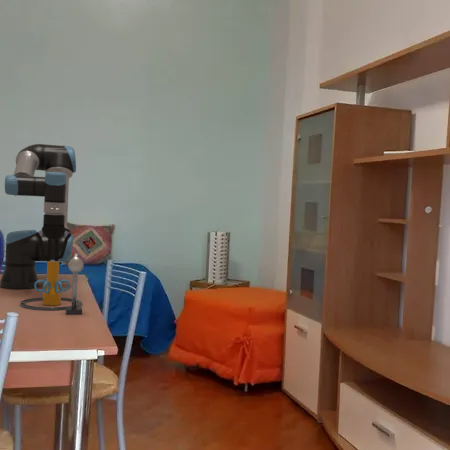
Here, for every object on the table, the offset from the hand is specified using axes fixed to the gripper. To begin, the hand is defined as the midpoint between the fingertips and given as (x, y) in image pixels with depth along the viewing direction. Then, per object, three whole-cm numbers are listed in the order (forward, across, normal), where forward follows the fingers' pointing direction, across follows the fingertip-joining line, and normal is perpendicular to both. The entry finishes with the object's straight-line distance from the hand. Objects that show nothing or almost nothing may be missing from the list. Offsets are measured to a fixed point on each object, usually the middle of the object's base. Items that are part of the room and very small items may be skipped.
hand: (51, 277), depth 211 cm
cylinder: (+8, 0, -13) cm, 15 cm away
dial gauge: (+7, +7, -27) cm, 29 cm away
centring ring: (+8, 0, -14) cm, 16 cm away
